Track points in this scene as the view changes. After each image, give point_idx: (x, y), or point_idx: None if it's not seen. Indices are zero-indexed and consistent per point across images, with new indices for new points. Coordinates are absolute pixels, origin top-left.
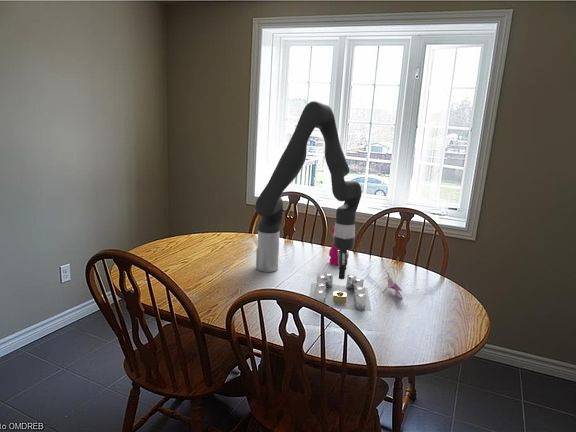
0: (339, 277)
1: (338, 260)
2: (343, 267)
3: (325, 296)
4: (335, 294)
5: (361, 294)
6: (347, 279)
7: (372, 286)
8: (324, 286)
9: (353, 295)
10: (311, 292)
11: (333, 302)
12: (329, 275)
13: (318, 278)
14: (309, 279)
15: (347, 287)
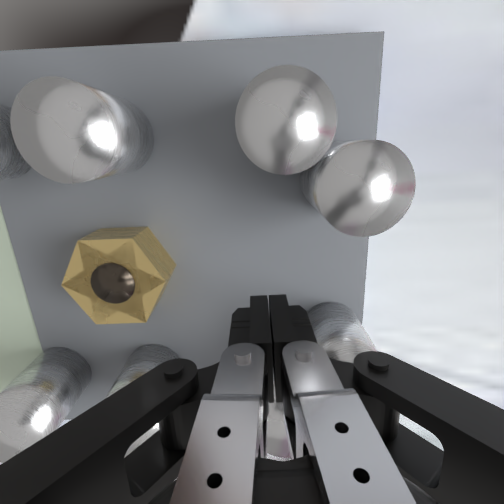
0: (250, 305)
1: (184, 455)
2: (164, 437)
3: (152, 173)
4: (91, 253)
5: (25, 440)
6: (331, 343)
7: (406, 426)
8: (41, 169)
9: (224, 342)
10: (186, 54)
11: (80, 231)
12: (339, 201)
13: (247, 86)
14: (499, 6)
15: (312, 315)
